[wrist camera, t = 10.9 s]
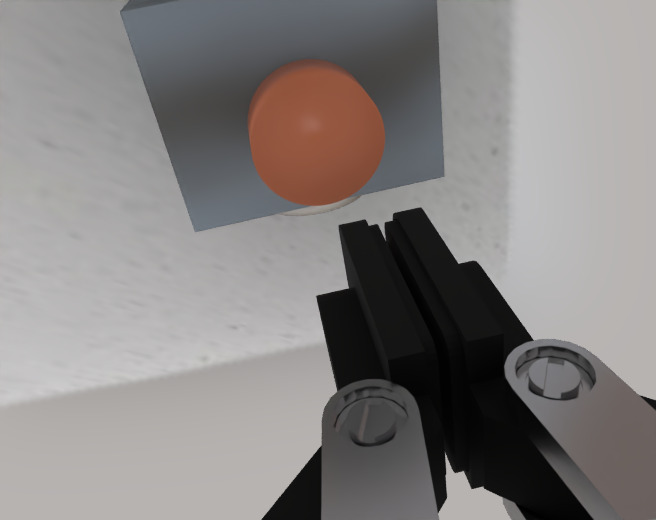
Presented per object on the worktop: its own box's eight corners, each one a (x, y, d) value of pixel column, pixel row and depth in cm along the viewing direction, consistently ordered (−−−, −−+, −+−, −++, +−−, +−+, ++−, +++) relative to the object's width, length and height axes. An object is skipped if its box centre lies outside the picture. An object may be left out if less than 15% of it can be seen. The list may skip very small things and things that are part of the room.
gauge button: (376, 165, 19) (391, 190, 18) (262, 190, 19) (267, 217, 18) (361, 47, 17) (377, 62, 16) (233, 73, 17) (235, 92, 15)
